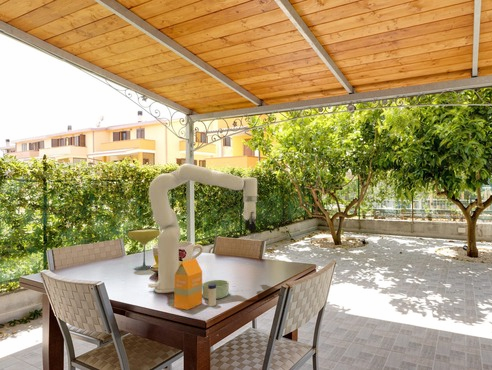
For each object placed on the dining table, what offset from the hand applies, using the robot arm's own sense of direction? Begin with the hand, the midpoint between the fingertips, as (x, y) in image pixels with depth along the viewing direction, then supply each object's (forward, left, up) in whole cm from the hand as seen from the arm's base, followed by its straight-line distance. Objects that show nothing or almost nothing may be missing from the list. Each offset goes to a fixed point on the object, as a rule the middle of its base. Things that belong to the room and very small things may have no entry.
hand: (249, 230), depth 177 cm
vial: (-23, -27, -29) cm, 46 cm away
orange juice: (-33, -23, -29) cm, 50 cm away
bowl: (-20, -15, -29) cm, 38 cm away
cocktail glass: (-56, +61, -29) cm, 88 cm away
